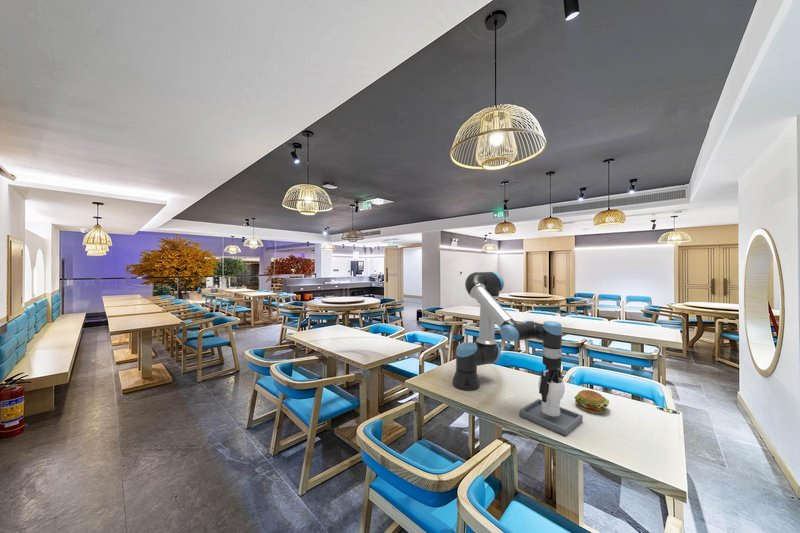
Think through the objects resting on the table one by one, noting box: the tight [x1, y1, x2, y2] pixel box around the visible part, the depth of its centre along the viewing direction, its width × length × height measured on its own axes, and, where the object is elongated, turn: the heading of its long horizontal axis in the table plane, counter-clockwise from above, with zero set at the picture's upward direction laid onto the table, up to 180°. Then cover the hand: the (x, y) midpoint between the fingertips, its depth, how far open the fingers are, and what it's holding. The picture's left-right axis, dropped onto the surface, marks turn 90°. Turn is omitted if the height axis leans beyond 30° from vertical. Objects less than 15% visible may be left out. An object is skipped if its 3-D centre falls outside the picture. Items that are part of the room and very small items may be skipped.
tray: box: [518, 398, 584, 437], centre depth 136 cm, size 20×18×3 cm
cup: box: [537, 375, 565, 416], centre depth 136 cm, size 11×11×15 cm
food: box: [573, 389, 610, 414], centre depth 146 cm, size 14×14×8 cm
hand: (550, 404), depth 136 cm, fingers closed on cup, 10 cm apart
